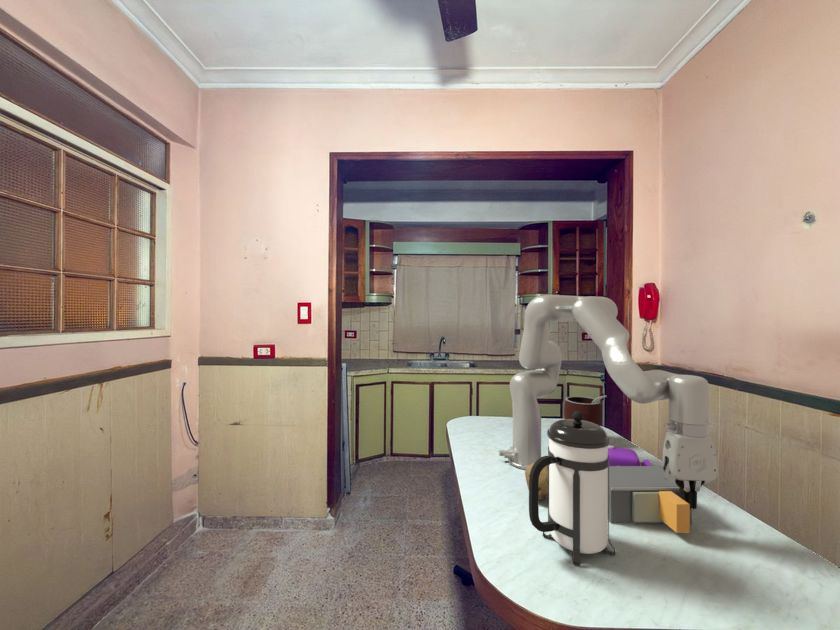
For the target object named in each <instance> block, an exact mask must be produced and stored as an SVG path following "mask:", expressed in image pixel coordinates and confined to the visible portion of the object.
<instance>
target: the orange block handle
mask: <svg viewBox="0 0 840 630" xmlns="http://www.w3.org/2000/svg"><path fill="white" fill-rule="evenodd" d="M632 520H633V521H634V522H664V523H663V524H665V525H667V527H669V528H670V529H671V530H672V531H674V533H677V534H690V533H691V523H690V504H689V503H687V502H686V501H684V500H683V499H681V498H680V497H679V496H677V495H676V494H674V493H673V492H672V491H659V492H632Z"/></svg>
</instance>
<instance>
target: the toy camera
mask: <svg viewBox="0 0 840 630" xmlns="http://www.w3.org/2000/svg"><path fill="white" fill-rule="evenodd" d="M608 455H609V466H652V465H651V462H650V460H649V459H645V460H643V461H640V458H639V456H638V454H637V453H636V451H635V450H633V449H630V448H622V447H615V446H614V445H611V444H609V446H608Z"/></svg>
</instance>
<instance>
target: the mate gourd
mask: <svg viewBox="0 0 840 630" xmlns="http://www.w3.org/2000/svg"><path fill="white" fill-rule="evenodd" d="M604 398H607V394H606V395H602V396H601V395H600V396H598V397H596V398H593V397H588V396H581V395H578V396H576V395H575V396H573V395H572V396H567V397H565V402H564V407H563V415H564V419H573V417H572V414H573V413H574V412H576V411H578V412H581V413H582V415H583V419H582V420H584V421H589V422H592V423H595V424H597V425H599V426H600V427H602V426H601V425H602V422H603V420H602V419H603V409H602V403H601V400H602V399H604Z"/></svg>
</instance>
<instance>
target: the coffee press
mask: <svg viewBox="0 0 840 630" xmlns="http://www.w3.org/2000/svg"><path fill="white" fill-rule="evenodd" d="M572 417H573V419H565V418H564V419H559V420H556V421H554V422H553V423H552V424H550V427H549V428H548V430H547V432H546V435H547V438H548V446H547V455H544V456H541V458H539V459H538V460H537V461H536V462H535V463H534V465H533V466H532V469H531V472H530V477H529V489H528V515H529V520H530V522H531V525H532V526H533V527H534V528H535V529H536V530H537V531H539V532H542V537H543V538H544V539H546V540H548V539H550V538H553V539H554V541H555V542H557V544H559V545H561V547H564V548H565V549H567V550H569V551H572V564H573V565H578V566H580V565H581V554H584V555H585V554H587V555H588V554H589V555H591V554H598V553H600V552H602V551H604V550H605V552H606V553H607V554H608V555H609V556H615V555H616V547H615V546H614V544H613V543H612V541H611V539H610V522H609V455H608V446H609V445H611V438H610V437H609V435H608V434H607V431H606V430H605V429H604V428H603V427H602V426H599V425H597V424H595V423H592V422H589V421H584V420H582V419H583V415H582V413H581V412H578V411H576V412H574V413H573V414H572ZM545 466H548V496H547V521H541V520H540V515H539V500H540V499H539V475H540V472H541V471H542V469H543V468H544V467H545ZM546 533H549V534H546ZM608 544H609V546H610V547H611V549H612V551H611V550H610V549H608V547H607V545H608Z"/></svg>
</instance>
